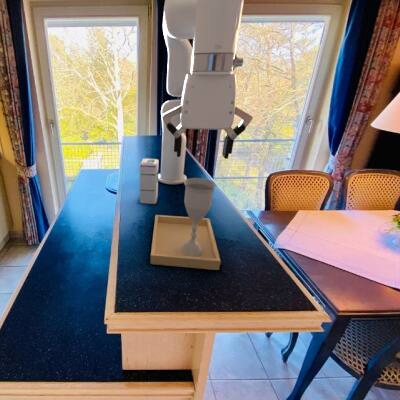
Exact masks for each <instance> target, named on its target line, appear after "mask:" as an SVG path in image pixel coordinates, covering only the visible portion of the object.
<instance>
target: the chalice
mask: <svg viewBox="0 0 400 400" xmlns="http://www.w3.org/2000/svg"><path fill="white" fill-rule="evenodd" d="M183 185H184V186H185V187H184V188H185V190H184V200H183V202H184V207H185V210H186V213H187V215H188V216H187V217H189V218H190V220H192V221H193V225H192V226H191V228H192V232H191V233H190V235H191V240H188V241H186V242H185V244H184V246H183V247H182V252H183V253H184V254H185V255H187V256H190V257H198V256H200V255H201V254H202V250H201V247H200V244H199V243H198V242H197V241H196V240H195V237H196V236H197V233H196V230H197V229H198V227H197V222H200V221H201V220H202V219H203V218H205V216H206V215H207V214H208V212H209V211H210V209H211V207H212V201H213V195H214V190H215V189H216V188H217V184H216V183H215V182H214V181H212V180H210V179H207V178H203V177H190V178H189V177H188V178H187V179H186V180H185V181H184V183H183Z"/></svg>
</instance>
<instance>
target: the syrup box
mask: <svg viewBox="0 0 400 400" xmlns="http://www.w3.org/2000/svg"><path fill="white" fill-rule="evenodd" d="M159 160H160V159H158V158H142V159H141V161H140V163H139V203H140V204H148V205H156V204H157V201H158V198H159V196H158V195H159V181H158V174H159Z"/></svg>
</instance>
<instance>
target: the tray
mask: <svg viewBox="0 0 400 400" xmlns="http://www.w3.org/2000/svg"><path fill="white" fill-rule="evenodd" d="M192 225H193V221H192V220H190V218H189V216H178V215H163V214H155V216H154V224H153V233H152V240H151V241H152V242H151V250H150V251H151V252H150V265H156V266H157V265H158V266H166V267H167V266H169V267H179V268H188V269H189V268H190V269H201V270H210V271H219V270H220V266H221V258H220V253H219V249H218V246H217V242H216V239H215V234H214V230H213V227H212V223H211V219H210V218H206V217H204V218H203V219H202V220H201V221H200V222H197V227H198V229H197V230H196V233H197V236H196V237H195V240H196V241H197V242H198V243H199V244H200V247H201V250H202V254H201V255H200V256H198V257H190V256H187V255H185V254H184V253H183V252H182V247H183V246H184V244H185V242H186V241H188V240H191V235H190V233H191V232H192V228H191V226H192Z"/></svg>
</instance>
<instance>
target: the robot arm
mask: <svg viewBox="0 0 400 400" xmlns="http://www.w3.org/2000/svg"><path fill="white" fill-rule="evenodd" d="M244 3H245V1H244V0H164V5H163V16H162V32H163V36H164V37H163V38H164V41H165V45H166V48H167V71H166V72H167V73H166V92H167V94H168V95H170V96H171V97H181V99H171V100H167V101H165V102H164V103H163V104H162V105H161V110H160V115H161V128H162V131H161V132H162V134H161V135H162V136H161V137H162V138H161V153H160V154H161V155H160V156H161V157H160V172H159V173H158V183H159V182H160V183H162V184H166V185H180V184H184V181H185V180H186V179H188V177H187V175H186V174H184V173H185V161H186V151H187V150H186V149H187V136H186V133H185V131H186V130H187V129H188V130H210V131H211V130H213V131H215V130H216V131H219V130H220V131H221V130H224V132H225V134H226V136H224V139H223V144H222V151H221V155H222V157H223V159H225V160H228V159H229V155H231V154H233V153H232V152H233V148H234V141H235V140H236V139H237V137H238V136H240V135H241V134H242V133H244V131H246V128H247V127H248V126H249V124H251V122H252V120H253V116H252V114H251V115H250V114H249V113H248V112H246V111H244V110H243V109H241V108H239V107H237V106H236V105H237V104H236V103H237V101H236V100H237V86H238V85H237V74H236V73H234V71H235V69H236V68H238V67H239V68H240V67H243V65H244V64H243V63H244V58H243V57H238V56H237V47H238V42H239V36H240V29H241V22H242V16H243V8H244ZM189 40H193V43H192V44H191V42H190V41H189ZM235 116H237V117H239V118H241V121H240V123H239V124H237V125H236V126H235V127H234V128H232V127H233V124H234V120H235Z"/></svg>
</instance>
